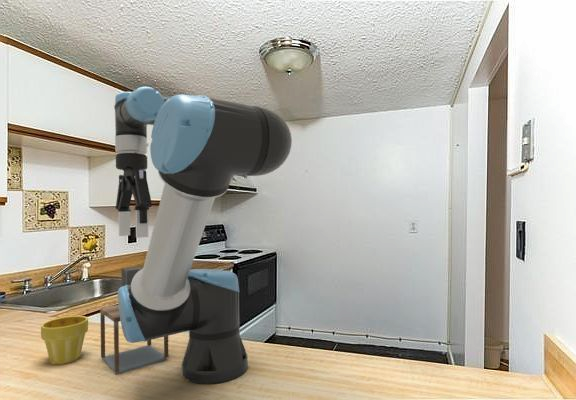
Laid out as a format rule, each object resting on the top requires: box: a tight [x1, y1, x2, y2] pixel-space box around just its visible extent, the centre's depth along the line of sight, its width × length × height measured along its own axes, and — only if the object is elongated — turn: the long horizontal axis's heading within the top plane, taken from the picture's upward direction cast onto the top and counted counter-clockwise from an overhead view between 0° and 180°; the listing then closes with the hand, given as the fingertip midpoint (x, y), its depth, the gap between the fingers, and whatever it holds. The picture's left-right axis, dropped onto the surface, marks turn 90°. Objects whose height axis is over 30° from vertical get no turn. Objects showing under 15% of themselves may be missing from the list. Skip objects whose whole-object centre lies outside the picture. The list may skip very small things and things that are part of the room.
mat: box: [101, 344, 168, 375], centre depth 92 cm, size 12×12×1 cm
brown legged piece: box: [99, 266, 170, 374], centre depth 93 cm, size 13×13×22 cm
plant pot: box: [40, 315, 89, 365], centre depth 94 cm, size 10×10×10 cm
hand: (132, 236), depth 93 cm, fingers open, 13 cm apart
